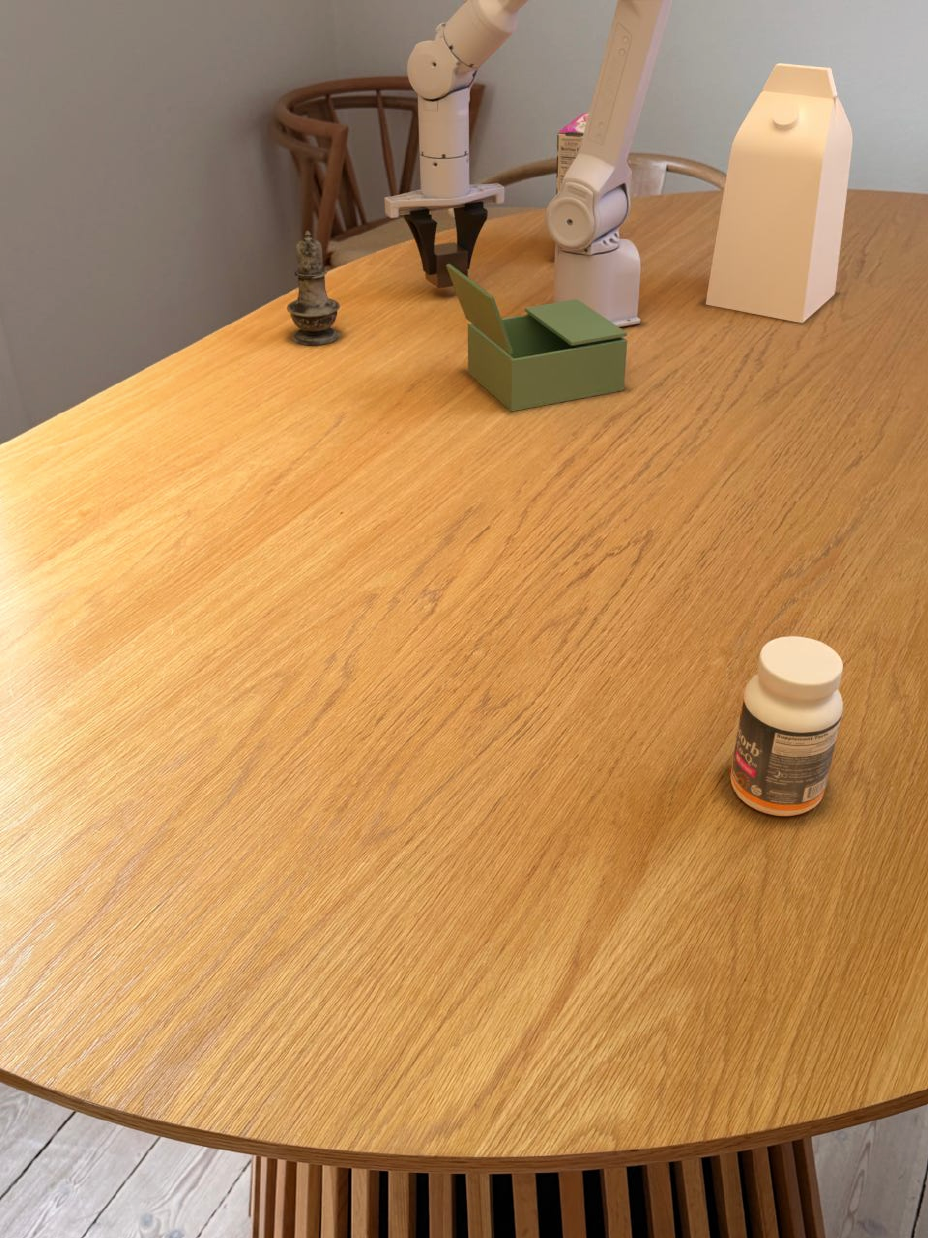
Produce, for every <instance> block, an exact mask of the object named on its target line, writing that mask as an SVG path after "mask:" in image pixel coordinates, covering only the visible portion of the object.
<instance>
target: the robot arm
mask: <svg viewBox="0 0 928 1238" xmlns="http://www.w3.org/2000/svg"><path fill="white" fill-rule="evenodd" d="M529 1H530V0H462V2H463V4H462V5H461V6H460V7H459V8H458V9H457V11H456V12H455V13H454V14H453V15H452V16H451V18H449V20H447V21H446V22H441V23H439V24H438V25H437V26H436V28H435V29H434V31H435V33H436V34H435V37H434V40H431V39H430V40H429V39H428V40H423V41H420V42H419V43H416V44H415V45H414V46H413V50H412V51H411V53H410V55H409V57H408V59H407V63H406V75H407V79H408V82H409V84H410V86H411V88H412V89H413V90H414V92H415V93H416V94H417V116H418V117H417V118H418V145H419V147H418V148H419V173H420V174H419V176H420V177H419V178H420V189H416V190H413V191H409V192H404V193H401V194H396V195H393V196H386V197H385V196H384V213H385V216H387V217H388V218H390V219H395V218H396V219H397V218H399V217H400V216H403V219H404V220H405V222H406V224H407V226H408V228H409V230H410V232H411V234H412V236H413V240H414V242H415V244H416V247H417V249H418V252H419V257H420V260H421V266H422V270H423V272H426V273H427V274H428V275H434V272H435V252H434V246H435V245H436V244H435V243H436V233H437V228H438V227H437V226H438V222H437V221H436V220H435V219H433V214H430V212H435V211H444V210H451V209H452V210H453V215H454V222H455V229H456V230H455V231H456V244H458V245H459V246H461V247H462V248H464V249H465V250H466V251H468V270H470V267H471V261H472V257H473V253H474V250H475V247H476V244H477V240H478V237H479V235H480V233H481V231H482V229H483V227H484V225H485V223H486V222H487V221H488V217H489V215H488V214H489V213H488V212H489V210H488V209H486V207H484V206H485V205H489V204H495V205H502V204H503V205H504V204H505V186H503V185H502V184H500V183H498V182H496V183H485V184H470V125H469V123H470V116H469V115H470V114H469V113H470V112H469V111H470V110H469V108H470V107H469V105H470V102H471V96H470V95H471V93H470V92H471V89H472V87H473V85H474V84H475V82H476V81H477V78H478V75H479V70H480V68H481V67H482V66H483V65H484V64H485V63H486V62H487V61H488V60H489V59H490V58H491V57H492V56H493V55H494V54H495V52H497V51H498V49H499V48H501V47H502V45H503V44H505V43H506V41H507V40H508V39H509V38H510V37H512V35H513V34H514V33H515V32H516V31H517V29H518V25H519V20H518V19H519V10H520V9H522V8H523V7H524V6H525V5H526V4H527V3H528V2H529ZM673 2H674V0H617V2H616V7H615V11H614V14H613V19H612V23H611V27H610V31H609V34H608V38H607V42H606V46H605V50H604V53H603V57H602V61H601V64H600V69H599V72H598V76H597V80H596V83H595V88H594V91H593V95H592V96H593V97H592V99H591V103H590V107H589V111H588V113H589V114H588V118H587V122H586V126H585V130H584V134H583V137H582V141H581V145H580V149H579V153H578V155H577V157H576V158H575V160H574V162H573V163H572V165H571V166H570V168H569V169H568V171H567V172H566V174H565V176H564V178H563V181H562V185H561V188H560V190H559V192H558V194H557V195H556V194H555V196H554V197H553V198H552V199H551V200H550V201H549V203H548V205H547V208H546V211H545V227H546V230H547V233H548V235H549V236H550V238H551V240H552V241H553V242H554V264H553V291H552V292H553V294H552V295H553V296H552V303H557V302H563V301H569V300H575V299H578V300H579V301H580V302H582V303H583V304H585V305H586V306H588V307H589V308H591V309H592V310H594V311H595V312H597V313H598V314H600V315H601V316H603V317H604V318H606V319H607V320H609V321H610V322H612V323H613V324H615V325H616V326H618V327H619V328H622V327H628V326H634V325H639V324H640V323H641V318H639V317H638V313H639V299H640V286H641V273H642V265H641V257H640V253H639V250H638V248H637V245H635V244H634V242H633V241H632V240H630V239H629V238H620V227H621V226H622V225H623V224H624V223H625V222H626V220H627V219H628V217H629V215H630V211H631V207H632V205H631V203H632V202H631V194H630V184H631V180H632V175H633V171H632V169H631V168H630V166H629V164H628V158H629V154H630V151H631V147H632V145H633V141H634V138H635V134H636V130H637V127H638V124H639V121H640V117H641V113H642V110H643V106H644V102H645V99H646V95H647V93H648V90H649V89H648V88H649V85H650V82H651V78H652V75H653V72H654V68H655V64H656V62H657V58H658V55H659V50H660V47H661V44H662V40H663V36H664V33H665V31H666V26H667V23H668V21H669V16H670V12H671V10H672V9H671V8H672V6H673Z"/></svg>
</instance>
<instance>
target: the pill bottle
mask: <svg viewBox="0 0 928 1238" xmlns="http://www.w3.org/2000/svg"><path fill="white" fill-rule="evenodd" d="M843 670H844V663H843V660H842V658H841V656H840V655H839V653H837V651H836V650H835V649H834V648H832V647H831V646H829V645H827V644H825V643H824V642H822V641H819V640H817V639H813V638H809V637H805V636H798V635H797V636H795V635H793V636H792V635H790V636H789V635H788V636H781V637H777V638H774V639H771V640H769V641H768V642H766V643H765V644H764V645H763V646H762V647H761V650H760V651H759V655H758V660H757V666H756V674H755V675H753V677H752V678H750V679H749V681H748V682H747V684H746V685H745V687H744V691H743V697H742V702H741V707H740V713H739V721H738V726H737V727H738V728H737V732H736V739H735V745H734V751H733V757H732V762H731V767H730V784H731V786H732V788H733V791H734V792H735V794H736V795H737V797H738V798H739V799H740V800H741V801H742V802H743V803H745V804H746V805H747V806H749V807H750V808H752V809H754V810H756V811H757V812H761V813H763V814H767V815H771V816H776V817H792V816H798V815H802V814H805V813H807V812H809V811H812V809H814V808H815V807H816V806H817V805H819V803H820V802H821V801H822V799H823V797H824V794H825V791H826V787H827V783H828V778H829V775H830V770H831V765H832V761H833V757H834V752H835V748H836V743H837V739H838V734H839V730H840V725H841V721H842V718H843V717H842V716H843V711H844V702H843V698H842V697H843V696H842V694H841V692H840V690H839V688H840V686H841V681H842V675H843V672H844V671H843Z"/></svg>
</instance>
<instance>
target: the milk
mask: <svg viewBox="0 0 928 1238" xmlns="http://www.w3.org/2000/svg"><path fill="white" fill-rule="evenodd" d="M772 68H773V69H772V70H771V72H770V74H769V76H768V78H767V80H766V82H765V84H764V86H763V88H762V91H761V92H760V93H759V95H758V97H757V99H756V100H755V101H754V103H753V105H752V106H751V108H750V109H749V112H748V113H747V115H746V117H745V119H744V120H743V121H742V123H741V125H740V127H739V128H738V131H737V132H736V134H735V136H734V138H733V141H732V144H731V147H730V152H729V158H728V159H729V160H728V164H727V170H726V177H725V183H724V189H723V193H722V194H723V195H722V201H721V206H720V212H719V218H718V219H719V220H718V226H717V232H716V238H715V244H714V250H713V255H712V256H713V257H712V261H711V269H710V273H709V274H710V276H709V281H708V287H707V294H706V299H705V305H706V306H711V307H716V308H722V309H728V310H732V311H738V312H742V313H747V314H751V315H752V314H753V315H757V316H761V317H762V316H763V317H768V318H774V319H779V320H782V321H783V320H784V321H789V322H794V323H800V324H804V323H805V322H806V321H807V320H808V319H809V318H810V317H811V316H812V315H813V314H815V313H816V312H817V311H818V310H819V309H820V308H821V307H823V306H824V304H826V303H827V302H828V301H829V300H830V299H831V298H833V297H834V296H835V294H836V288H837V278H838V269H839V261H840V253H841V247H842V246H841V244H842V236H843V229H844V228H843V227H844V220H845V210H846V203H847V195H848V194H847V193H848V187H849V186H848V184H849V176H850V170H851V169H850V168H851V160H852V152H853V151H852V150H853V140H854V137H853V130H852V126H851V123H850V120H849V119H848V116H847V115H846V112H845V109H844V107H843V105H842V102H841V100H840V98H839V97H838V95H839V94H838V90H837V87H836V83H835V79H834V74H833V70H832V67H823V66H813V65H802V64H792V63H782V62H778V63H777V64H775V65H774V67H772Z"/></svg>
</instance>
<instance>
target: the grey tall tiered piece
mask: <svg viewBox="0 0 928 1238" xmlns="http://www.w3.org/2000/svg"><path fill="white" fill-rule="evenodd" d="M304 235H305V237H304V238H302V239H300V240H299V241H298V242H297V243H296V245H295V254H296V267H297V268H296V270H295V271H294V276H295V277H296V278H297V285H298V287H297V289H298V295H297V299H295V300H293V301H292V302H290V303H288V305H287V307H286V310H287V312H288V313H289V315H290V318H291V320H292V322H293V324H294V325H295V326H296V327H297V328H298V330H296V331H295V332H294V333H293V334H292V337H291V339H292V340H293V342H295V343H296V344H299V345H301V346H309V347H310V346H313V347H315V346H323V345H328V344H331V343H332V344H333V343H334V342H336V341H337V340H338V339H339V338H340V333H339V332H338V331H337V330H336V329H333V328H332V326H333V324H335V322H336V320H337V317H338V311H339V309H340V306H341V305H340V303H339V302H338V301H337V300H335V299H333V298H330V297H329V296H328V293H327V290H326V278H325V277H326V275H327V274H328V271H327V269H325V268H324V260H323V249H322V248H323V247H322V244H321V243H320V241H319V240H317V239H316V238H313V237H311V235H312V233H311V232H310V231H309V230H306V231H305V233H304Z"/></svg>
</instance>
